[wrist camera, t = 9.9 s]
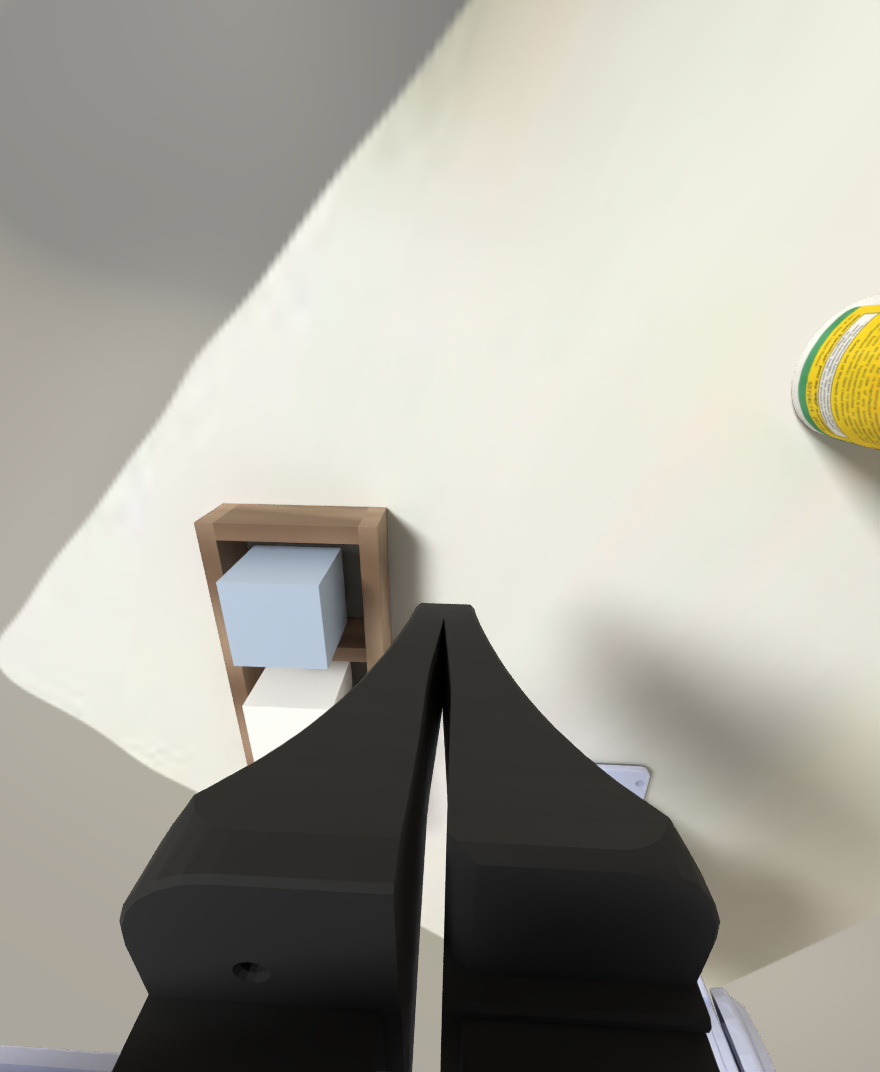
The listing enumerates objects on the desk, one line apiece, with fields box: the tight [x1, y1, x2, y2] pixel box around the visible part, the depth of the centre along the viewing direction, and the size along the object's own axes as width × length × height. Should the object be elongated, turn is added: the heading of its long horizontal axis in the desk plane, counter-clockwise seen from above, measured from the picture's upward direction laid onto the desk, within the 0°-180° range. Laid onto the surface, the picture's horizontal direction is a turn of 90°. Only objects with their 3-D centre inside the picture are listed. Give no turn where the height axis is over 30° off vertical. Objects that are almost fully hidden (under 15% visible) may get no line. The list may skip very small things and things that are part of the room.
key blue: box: [216, 545, 347, 669], centre depth 19 cm, size 4×4×4 cm
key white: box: [242, 661, 353, 762], centre depth 22 cm, size 4×4×4 cm
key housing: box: [194, 504, 391, 765], centre depth 24 cm, size 19×8×2 cm, turn 179°
